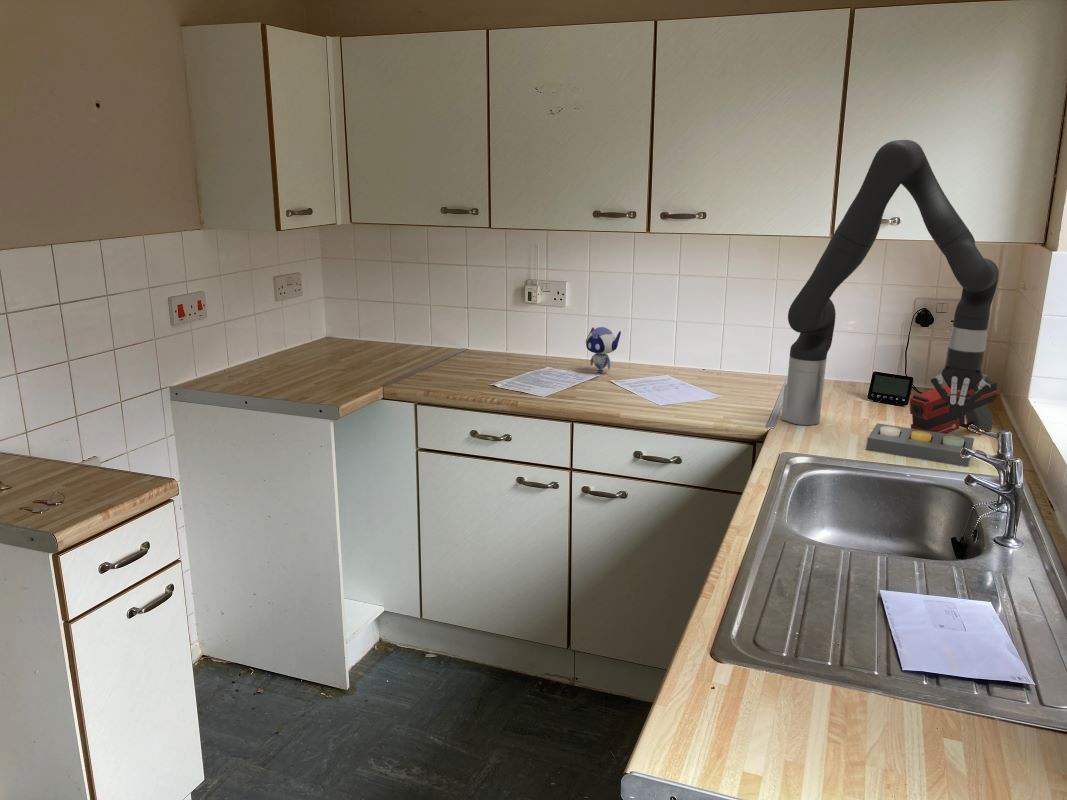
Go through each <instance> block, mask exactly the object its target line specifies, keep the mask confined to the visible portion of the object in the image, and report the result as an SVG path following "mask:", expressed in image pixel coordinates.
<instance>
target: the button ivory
mask: <svg viewBox="0 0 1067 800" xmlns="http://www.w3.org/2000/svg"><path fill="white" fill-rule="evenodd" d="M880 434H881V435H887V436H893V437H899V435H900V429H898V428H896V427H890V426H883V427H881V429H880Z"/></svg>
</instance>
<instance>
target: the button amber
mask: <svg viewBox="0 0 1067 800" xmlns="http://www.w3.org/2000/svg"><path fill="white" fill-rule="evenodd" d="M931 436H932V435H931V434H930V433H928V432H923V431H913V432H912V433H911V439H912V440H919V441H925V442H931Z"/></svg>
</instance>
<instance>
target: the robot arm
mask: <svg viewBox="0 0 1067 800" xmlns="http://www.w3.org/2000/svg"><path fill="white" fill-rule="evenodd" d="M931 167H932V166H931V165H930V162H929V160H928V158H927V156H926V153H925V152H924V150H923V148H922V146H921V145H920V144H919V143H918V142H916V141H914V140H910V139H897V140H891V141H889V142H888V141H887V142H886V143H885V144H883V145H882V146H881V147H880V148H879V149H878V150H877V151H876V153H875V154H874V156H873V159H872V161H871V164H870V166H869V168H868V171H867V173H866V175H865V177H864V180H863V182H862V184H861V186H860V189H859V191H858V192H857V194H856V195H855V198H854V199H853V201H852V203H851V204H850V206H849V207H848V209H847V210H846V212H845V214H844V216H843V217H842V219H841V221H840V223H839V224H838V226H837V228H836V229H835V232H834V233H833V235H832V236H831V239H830V240H829V242H828V245H827V246H826V248H825V250H824V252H823V253H822V255H821V257H820V258H819V260H818V263H817V264H816V266H815V268H814V270H813V271H812V274H811V275H810V276H809V278H808V280H807V281H806V282H805V284H804V286H803V287H802V288H801V289H800V291H799V293H798V294H797V295H796V297H795V298H794V300H793V301H792V302H791V305H790V307H789V308H788V311H787V312H788V313H787V320H788V325H789V326H790V328H791V329H792V330H793V331H794V332H796V333H799V336H798V337H797V338H796V340H795V341H794V342H793V344H791V346H790V350H789V357H788V358H789V360H788V370H787V380H786V384H784V388H783V389H784V390H783V396H782V397H783V399H782V406H781V407H782V409H781V418H780V419H781V421H785V422H787V423H790V424H795V425H802V426H814V425H818V424H819V423H820V421H821V410H822V403H823V396H824V395H823V394H824V393H823V392H824V385H825V376H826V375H825V374H826V369H827V368H826V367H827V358H828V353H829V350H830V349H831V347H832V342H833V339H834V337H833V336H834V331H835V325H836V308H835V307H836V306H835V305H834V302H833V301H832V300H831V297H832V295H833V294H834V293H835V291H836V290H837V289H838V287H840V285H842V284H843V283H844V281H846V279H848V278H849V277H850V276H851V275H852V274H853V273H854V272H855V271H856V270H857V269H858V267H859V266H860V265H861V264H862V263H863V262H864V260H865V258H866V257H867V255H868V253H869V251H870V249H871V248H872V247H873V245H874V243H875V241H876V239H877V236H878V234H879V232H880V227H881V224H882V220H883V216H884V213H885V210H886V208H887V205H888V204H889V202H890V201H891V199H892V197H893V196H894V194H895V193H896V191H897V190H898V189H899V187H900V186H901V185H902V186H903V188H905V189H906V190H907V192H908V193H909V194H910V195H911V197H912V199H913V200H914V202H915V204H916V206H917V208H918V210H919V213H920V215H921V218H922V221H923V223H924V226H925V229H926V230H927V232H928V234H929V236H930V237H931V238H932V240H933V241H934V243H935V244H936V246H937V247H938V249H939V250H940V251H941V253H942V254H943V255H944V257H945V258H946V260H947V263H948V265H949V267H950V269H951V271H952V274H953V275H954V278H955V279H956V281H957V282H958V284H959V285H960V286H961V287H962V290H961V297H960V300H959V302H958V303H957V305H956V307H955V311H954V315H953V316H954V317H953V323H952V329H951V332H950V334H949V335H950V336H949V340H948V346H947V352H946V358H945V364H944V368H943V369H942V371H941V373H939V374H938V375H934V376H932V377H931V379H930V382H931V384H932V385H933V387H934V389H936V390H937V392H938V393H939V395H940V396H941V398H942V399H943V400H944V401H947V402H949V404H950V406H949V412H948V416H949V417H951V420H956V421H957V420H958V418H959V419H960V418H961V416H962V412H963V406H964V405H966V404H972V403H973V402H975V401H976V400H977V399H978V398H980V397H981V396H982V395H983V394H985V393H986V392H987V391H988V390H989V389H990V384H989V383H986V382H985V381H984V380H983V379H982V377H983V376H982V374H983V373H982V367H983V361H984V358H985V357H984V356H985V351H986V347H987V336H988V335H987V334H988V326H989V320H990V315H991V306H992V303H993V300H994V297H995V294H996V291H997V286H998V282H999V275H1000V274H999V273H1000V272H999V267H998V266H997V264H996V263H995V262H994V261H993V260H992V259H989V258H986V257H985V258H984V256H983V255H982V253H981V251H980V250H979V249H978V248H977V247H978V246H976V240H975V238H974V236H973V233H972V232H971V231H970V229H969V227H968V226H967V224H966V223H965V222H964V220H963V219H962V218H961V216H960V215H959V214H958V212H957V211H956V209H955V208H954V207H953V205H952V203H951V202H950V200H949V199H948V197H947V196H946V194H945V192H944V191H943V189H942V187H941V185H940V183H939V182H938V180H937V178H936V176H935V174H934V171H933V170H932V168H931ZM943 382H945V383H946V385H948V387H949V388H951V396H950V395H948V393H947V392H946V390H945V389H944V387H943V386H944V385H943ZM978 383H980V385H979V386H978V389H979V390H977V391H976V392H975V393H974V394H973V395H971V396H970V397H969V398H966V394H967V391H969V390H971V389H972V388H973V387H974V386H976V385H977V384H978ZM958 390H961V393H960V397H959V401H958V403H956V401H957V392H958Z"/></svg>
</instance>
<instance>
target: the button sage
mask: <svg viewBox="0 0 1067 800" xmlns="http://www.w3.org/2000/svg"><path fill="white" fill-rule="evenodd" d="M943 444H944V445H950V446H956V447H963V445H964V439H963V438H960V437H956V436H944V438H943Z"/></svg>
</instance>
